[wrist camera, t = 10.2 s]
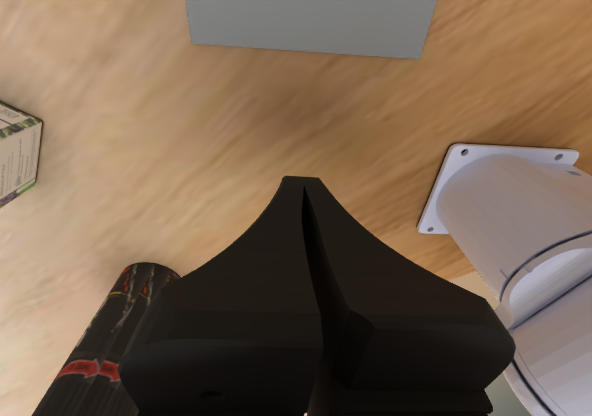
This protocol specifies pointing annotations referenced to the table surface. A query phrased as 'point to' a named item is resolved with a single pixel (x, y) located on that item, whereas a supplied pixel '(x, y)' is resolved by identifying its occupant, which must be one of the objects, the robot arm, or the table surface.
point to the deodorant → (105, 349)
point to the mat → (314, 25)
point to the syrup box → (17, 152)
